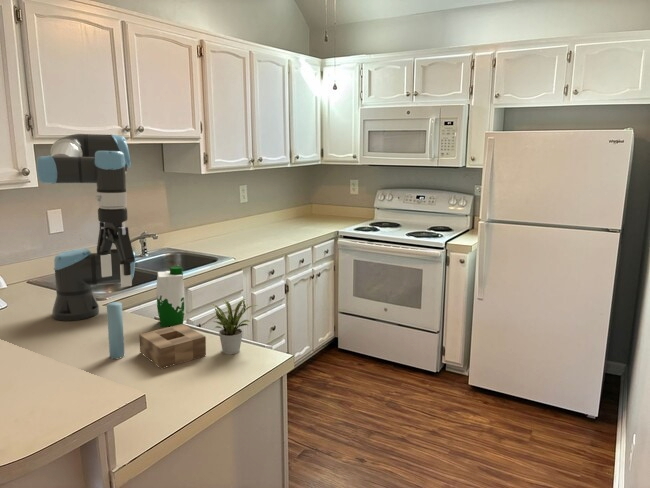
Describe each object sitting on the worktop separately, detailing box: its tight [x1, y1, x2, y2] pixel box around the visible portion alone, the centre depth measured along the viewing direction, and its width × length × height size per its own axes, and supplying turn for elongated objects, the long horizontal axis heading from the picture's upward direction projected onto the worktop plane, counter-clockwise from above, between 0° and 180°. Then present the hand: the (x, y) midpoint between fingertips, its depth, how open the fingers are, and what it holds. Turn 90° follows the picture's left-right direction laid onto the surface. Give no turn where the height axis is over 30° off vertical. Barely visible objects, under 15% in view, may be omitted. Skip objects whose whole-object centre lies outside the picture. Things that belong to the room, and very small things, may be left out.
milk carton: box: [156, 265, 185, 328], centre depth 170 cm, size 9×9×20 cm
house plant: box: [212, 298, 258, 355], centre depth 149 cm, size 14×14×16 cm
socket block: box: [138, 323, 207, 369], centre depth 146 cm, size 14×14×6 cm
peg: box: [106, 301, 125, 359], centre depth 142 cm, size 4×4×16 cm
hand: (116, 281), depth 140 cm, fingers open, 13 cm apart
